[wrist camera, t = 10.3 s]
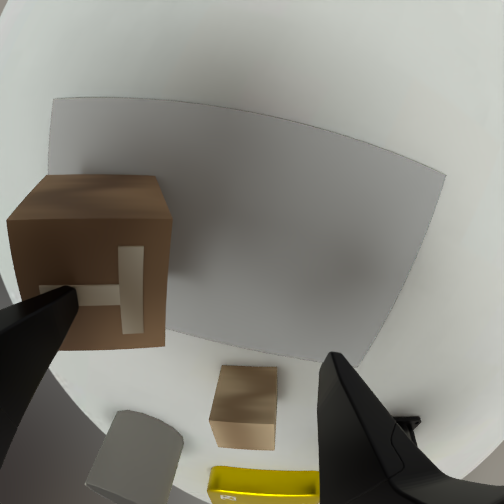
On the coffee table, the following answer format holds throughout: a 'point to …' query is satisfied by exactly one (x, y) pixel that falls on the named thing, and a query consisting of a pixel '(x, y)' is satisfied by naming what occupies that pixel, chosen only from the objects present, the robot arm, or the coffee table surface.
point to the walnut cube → (97, 255)
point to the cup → (136, 460)
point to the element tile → (262, 486)
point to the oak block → (245, 408)
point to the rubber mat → (262, 219)
